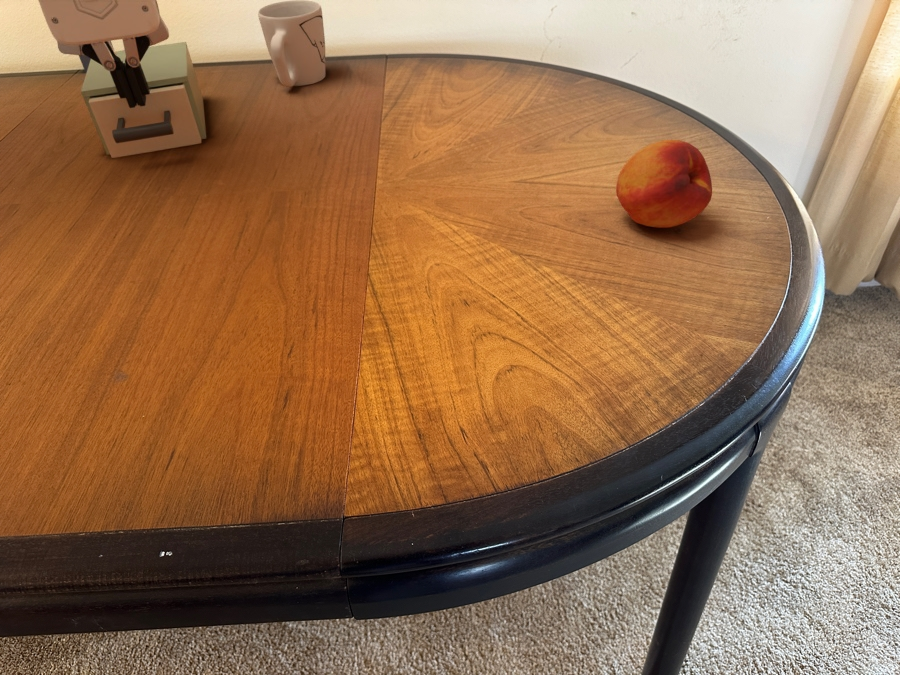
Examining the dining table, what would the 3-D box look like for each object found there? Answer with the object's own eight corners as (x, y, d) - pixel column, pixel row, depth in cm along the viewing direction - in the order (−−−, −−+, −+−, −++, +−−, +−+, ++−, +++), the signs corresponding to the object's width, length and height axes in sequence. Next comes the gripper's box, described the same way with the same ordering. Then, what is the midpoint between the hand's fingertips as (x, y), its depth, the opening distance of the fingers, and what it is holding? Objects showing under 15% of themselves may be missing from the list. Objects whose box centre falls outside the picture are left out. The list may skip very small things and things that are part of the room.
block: (87, 78, 100) (75, 48, 97) (90, 69, 103) (78, 40, 100) (118, 74, 100) (107, 44, 98) (119, 65, 104) (109, 36, 101)
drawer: (202, 162, 74) (184, 104, 70) (108, 178, 72) (83, 119, 68) (199, 106, 87) (183, 54, 82) (118, 118, 85) (98, 66, 80)
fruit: (648, 254, 58) (663, 172, 53) (595, 213, 64) (604, 135, 58) (716, 231, 60) (738, 150, 55) (660, 193, 66) (674, 117, 61)
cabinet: (208, 145, 79) (187, 75, 74) (110, 162, 77) (80, 91, 72) (205, 105, 89) (186, 41, 84) (117, 119, 87) (91, 54, 81)
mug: (316, 103, 88) (301, 25, 81) (257, 102, 89) (238, 25, 83) (340, 73, 96) (328, -1, 90) (286, 72, 98) (271, 0, 91)
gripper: (-36, -82, 55) (61, 127, 67) (148, -100, 58) (209, 103, 70) (-17, -94, 60) (69, 101, 72) (150, -110, 63) (207, 80, 75)
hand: (138, 102), depth 71 cm, fingers closed
